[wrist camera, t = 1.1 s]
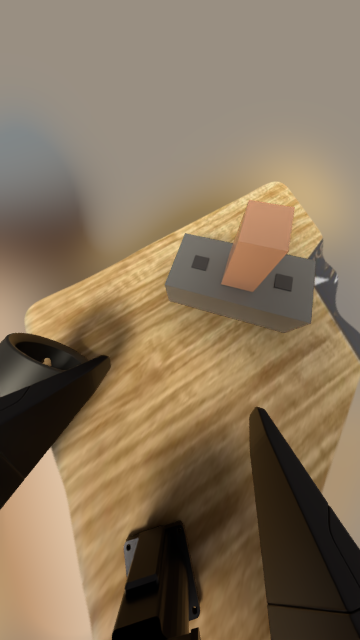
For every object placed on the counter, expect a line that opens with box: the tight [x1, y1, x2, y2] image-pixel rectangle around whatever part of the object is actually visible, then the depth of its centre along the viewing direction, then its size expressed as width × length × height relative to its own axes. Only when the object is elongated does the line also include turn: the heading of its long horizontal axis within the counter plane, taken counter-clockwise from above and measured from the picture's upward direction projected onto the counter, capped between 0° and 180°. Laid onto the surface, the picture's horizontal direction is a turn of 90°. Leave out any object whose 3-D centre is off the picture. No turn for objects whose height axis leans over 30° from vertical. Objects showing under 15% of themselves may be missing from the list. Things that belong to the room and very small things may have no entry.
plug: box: [221, 200, 295, 292], centre depth 18 cm, size 5×4×11 cm
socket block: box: [165, 233, 316, 333], centre depth 22 cm, size 9×18×5 cm, turn 72°
